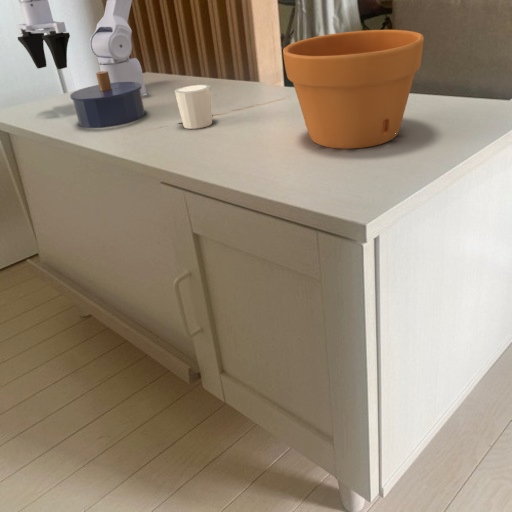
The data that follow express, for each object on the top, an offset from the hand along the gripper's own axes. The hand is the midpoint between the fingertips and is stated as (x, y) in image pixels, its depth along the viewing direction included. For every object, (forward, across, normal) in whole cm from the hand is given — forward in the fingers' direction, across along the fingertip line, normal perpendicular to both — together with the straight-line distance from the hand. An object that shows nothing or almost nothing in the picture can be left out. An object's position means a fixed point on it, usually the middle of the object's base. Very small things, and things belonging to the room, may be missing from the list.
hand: (51, 68), depth 120 cm
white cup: (+11, +39, +3) cm, 40 cm away
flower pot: (+11, +71, +6) cm, 72 cm away
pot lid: (+4, +18, 0) cm, 18 cm away
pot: (+10, +18, 0) cm, 20 cm away
